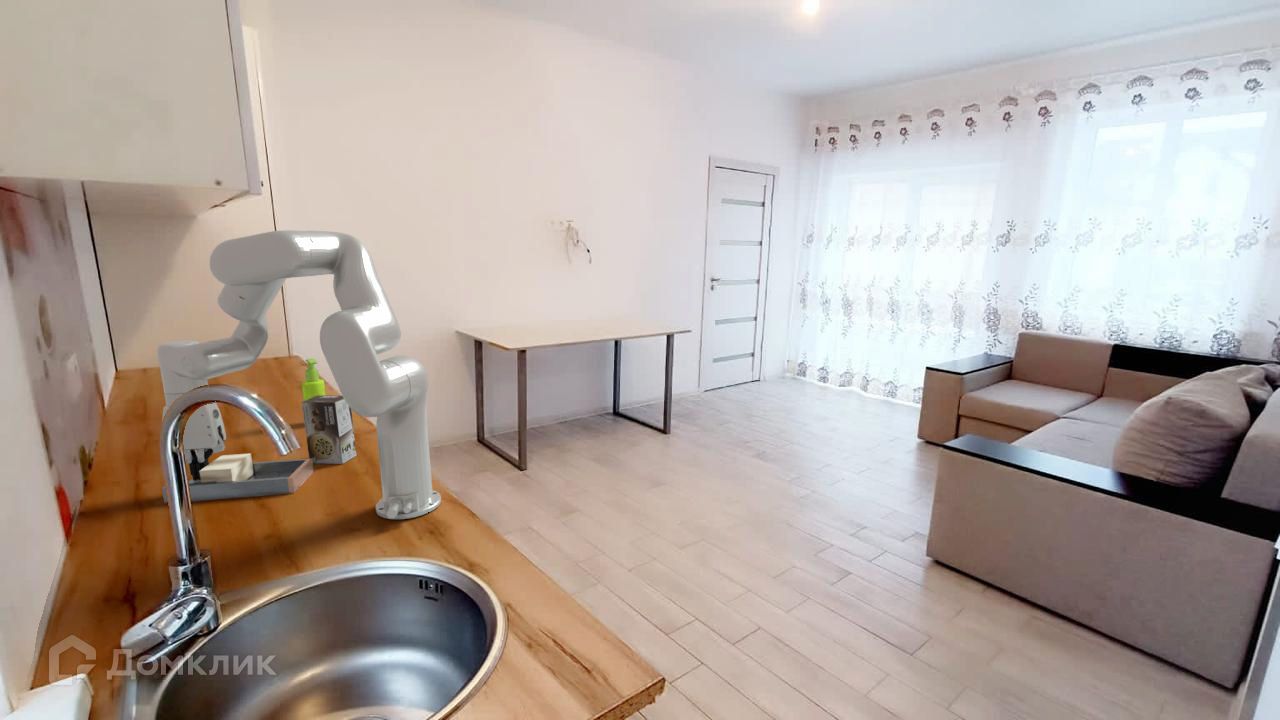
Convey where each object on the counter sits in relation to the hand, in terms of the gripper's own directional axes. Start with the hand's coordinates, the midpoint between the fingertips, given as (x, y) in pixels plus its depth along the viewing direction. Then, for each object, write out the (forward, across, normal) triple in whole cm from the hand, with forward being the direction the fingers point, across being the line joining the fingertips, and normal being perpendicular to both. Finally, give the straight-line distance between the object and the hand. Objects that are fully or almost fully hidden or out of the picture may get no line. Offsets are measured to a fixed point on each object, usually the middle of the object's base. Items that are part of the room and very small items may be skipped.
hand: (201, 477), depth 126 cm
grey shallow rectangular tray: (+3, -8, 0) cm, 8 cm away
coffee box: (+3, -23, -14) cm, 27 cm away
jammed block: (+2, -5, 0) cm, 6 cm away
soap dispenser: (+3, -9, -47) cm, 48 cm away
